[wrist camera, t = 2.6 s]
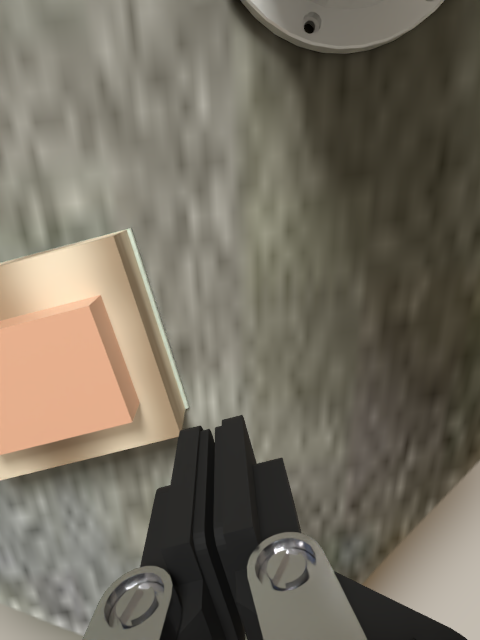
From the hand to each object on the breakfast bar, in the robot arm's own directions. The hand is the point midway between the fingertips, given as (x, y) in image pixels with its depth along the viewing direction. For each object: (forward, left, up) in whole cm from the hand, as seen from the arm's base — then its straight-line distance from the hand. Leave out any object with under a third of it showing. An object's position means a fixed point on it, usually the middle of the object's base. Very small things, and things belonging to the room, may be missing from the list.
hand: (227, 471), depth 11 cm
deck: (+10, 0, -15) cm, 17 cm away
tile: (+9, 0, -11) cm, 15 cm away
